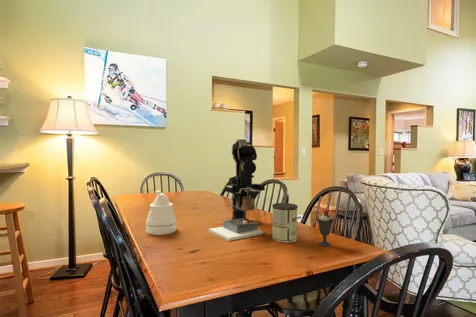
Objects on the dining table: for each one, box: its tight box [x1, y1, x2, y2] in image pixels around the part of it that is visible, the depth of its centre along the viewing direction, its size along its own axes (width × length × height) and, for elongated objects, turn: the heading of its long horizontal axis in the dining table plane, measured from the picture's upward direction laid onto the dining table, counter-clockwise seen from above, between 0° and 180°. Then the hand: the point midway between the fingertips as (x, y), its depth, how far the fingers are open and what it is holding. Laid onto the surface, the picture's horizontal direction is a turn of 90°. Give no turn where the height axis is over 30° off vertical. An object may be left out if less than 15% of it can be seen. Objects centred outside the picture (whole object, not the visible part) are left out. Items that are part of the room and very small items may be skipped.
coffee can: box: [271, 202, 299, 244], centre depth 115 cm, size 10×10×14 cm
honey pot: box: [145, 190, 177, 236], centre depth 124 cm, size 13×13×18 cm
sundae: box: [316, 206, 335, 248], centre depth 108 cm, size 7×7×15 cm
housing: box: [222, 218, 259, 233], centre depth 125 cm, size 11×11×3 cm
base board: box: [208, 220, 264, 242], centre depth 123 cm, size 18×16×4 cm
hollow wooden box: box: [236, 196, 256, 212], centre depth 127 cm, size 6×6×5 cm
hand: (245, 206), depth 127 cm, fingers closed on hollow wooden box, 6 cm apart
